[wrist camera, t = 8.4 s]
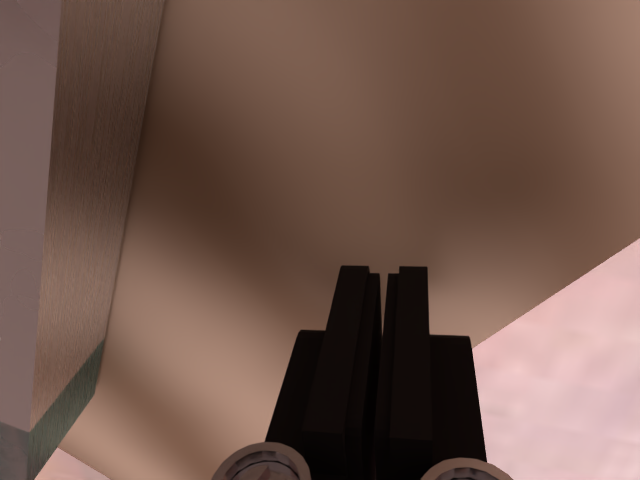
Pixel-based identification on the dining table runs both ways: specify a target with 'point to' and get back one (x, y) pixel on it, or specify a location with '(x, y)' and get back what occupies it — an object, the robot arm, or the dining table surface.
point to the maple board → (349, 194)
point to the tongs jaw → (63, 203)
